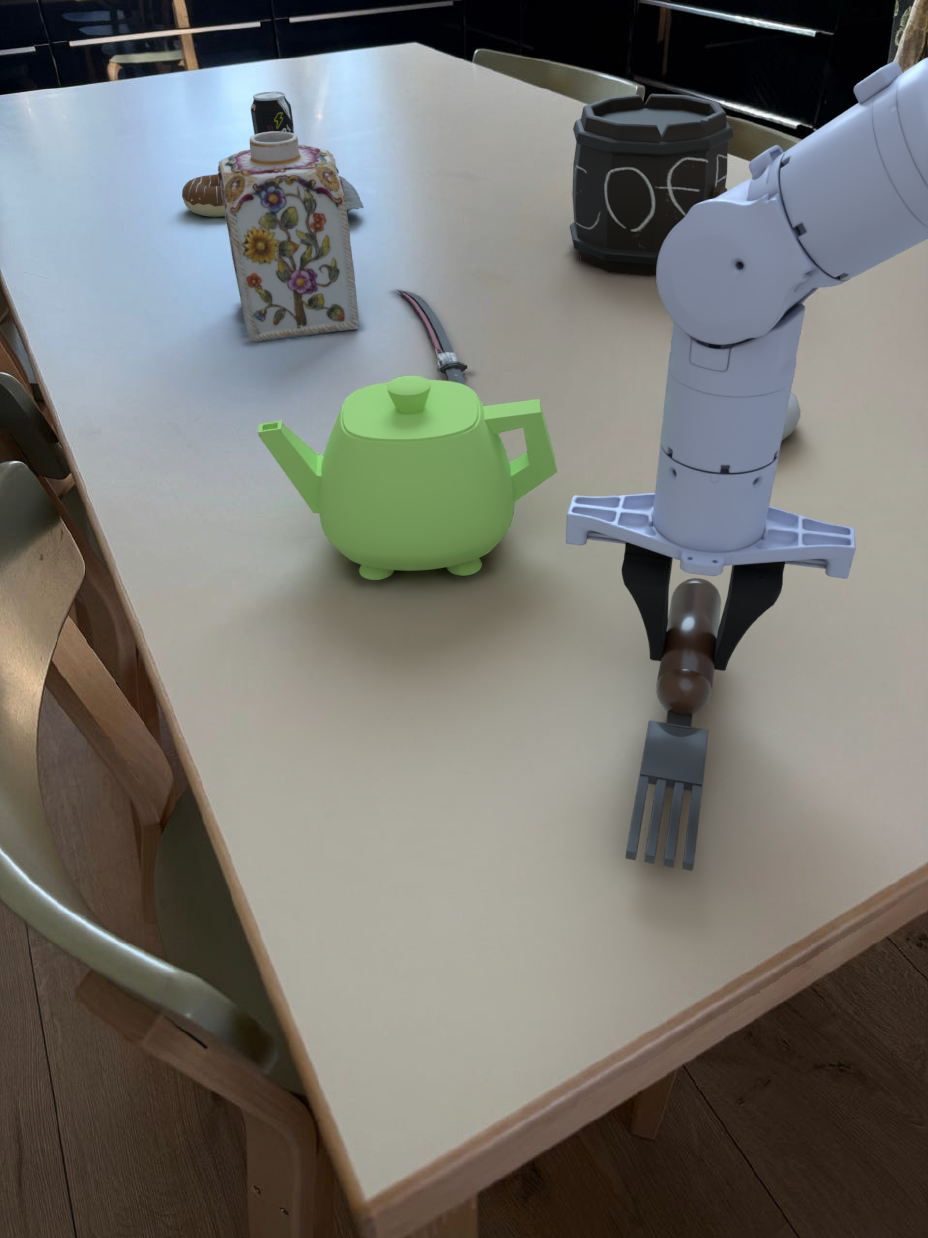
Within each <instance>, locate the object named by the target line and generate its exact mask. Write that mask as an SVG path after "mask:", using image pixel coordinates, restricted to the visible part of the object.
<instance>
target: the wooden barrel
mask: <svg viewBox="0 0 928 1238" xmlns="http://www.w3.org/2000/svg"><path fill="white" fill-rule="evenodd" d="M572 130H573V134H574V138H575V142H576V143H575V149H574V157H573V164H572V165H573V166H572V167H573V168H572V192H571V195H572V209H573V210H572V211H573V222H572V223H571V224H570V225H569V230H570V234H571V240H572V244H573V249H574V250H576V251H578V253H579V258H580V262H582V263H584V264H586V265H589V266H591V267H594V268H596V269H599V270H602V271H604V272H607V273H610V274H621V275H634V276H645V277H653V276H656V267H657V260H658V256H659V252H660V249H661V247H662V244H663V242H664V240H665V239H666V237H667V235H668V234H669V233H670V231H671V230H672V229H673V228H674V227H675V226H676V225H677V224H678V223H679V222H680V221H681V220H682V219H683V218H684V217H685V216H686V215H687V213H688V212H689V210H690V209H691V208H692V207H693V206H694V205H696V204H698V203H700V202H703V201H706V200H710V199H714V198H716V197H718V196H719V195H721V194H723V193H725V192H726V191H728V188H727V186H726V185H727V177H728V157H729V153H728V150H729V149H728V148H729V141H730V140H733V138H734V132H733V128H732V126H731V125H730V123H728V121H727V112H726V110H724V109H723V107H722V106H721V105H720V103H719V102H718V101H716V100H710V99H705V98H702V97H696V96H692V95H687V94H665V93H663V94H662V93H661V94H660V93H651V94H649V96H648V97H647V99H646V101H645V102H644V101H643V99H642V96H641V95H640V94H630V95H619V96H610V97H605V98H603V99H600V100H597V101H595V102H592V103H588V104H587V105H585V106H583V108H582V112H581V116H580V118H579V119H576V120H575V121H574V124H573V127H572Z"/></svg>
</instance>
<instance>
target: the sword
mask: <svg viewBox="0 0 928 1238" xmlns="http://www.w3.org/2000/svg"><path fill="white" fill-rule="evenodd" d="M397 291H398V292H399V294H400V295H401V296H402V297H404V298H405V300H407V301H408V302H409V303H410V304H411V305H412V307H413V308H414V309H415V311H416V313H417V314H418V315H419V317H420V318H421V320H422V322H423V324H424V326H425V328H426V330H427V332H428V334H429V337H430V339H431V342H432V345H433V347H434V351H435V354H436V357H437V360H436V361H437V366H438V367H437V372H438V373H441V374H443V375H446V378H447V381H451V382H456V383H460V384H463V385H466V381H465V379H464V378H465V377H464V375H463V372H465V371H466V370H468V364H465V363H463V362H461V361H459V359H458V357H457V355H456V353H455V351H454V349H453V346H452V344H451V342H450V340H449V337H448V335H447V332H446V331H445V328H444V327H443V325H442V323H441V321H440V320H439V318H438V316H437V314H436V312H434V311H433V309H432V308H431V306H430V305H429V304H428V303H427V301H425V299H424V298H422V297H421V296H420V295H418V294H415V293H413V292H409V291H405V290H401V289H397ZM466 386H467V385H466Z"/></svg>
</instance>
